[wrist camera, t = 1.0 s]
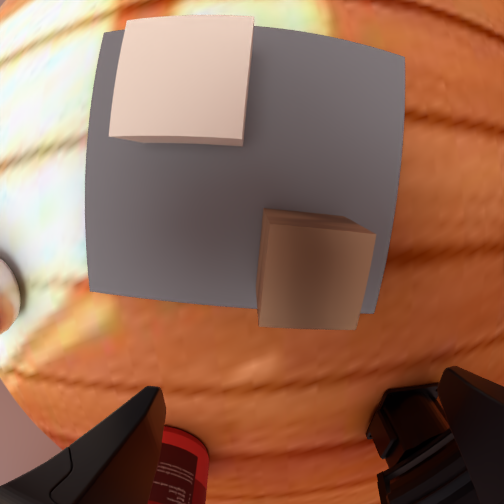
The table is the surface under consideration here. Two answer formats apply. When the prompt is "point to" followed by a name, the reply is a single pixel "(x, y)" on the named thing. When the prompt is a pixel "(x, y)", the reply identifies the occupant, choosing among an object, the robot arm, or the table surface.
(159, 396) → the robot arm
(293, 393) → the table surface
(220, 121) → the cream block
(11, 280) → the plastic bottle
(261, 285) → the walnut block
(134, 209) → the build mat
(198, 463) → the canned food
